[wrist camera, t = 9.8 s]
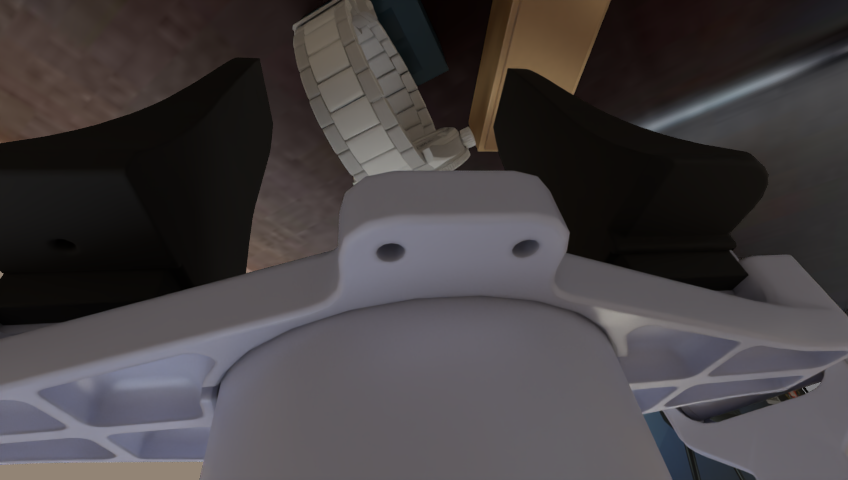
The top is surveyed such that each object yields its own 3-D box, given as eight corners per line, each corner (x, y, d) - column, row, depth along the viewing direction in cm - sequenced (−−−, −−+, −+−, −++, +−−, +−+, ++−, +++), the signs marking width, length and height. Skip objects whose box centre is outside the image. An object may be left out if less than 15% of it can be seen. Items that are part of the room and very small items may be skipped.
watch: (369, 117, 24) (376, 260, 17) (276, -19, 19) (228, 109, 11) (455, 73, 23) (502, 208, 16) (383, -89, 17) (404, 6, 10)
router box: (764, 324, 53) (966, 592, 36) (690, 361, 60) (829, 601, 43) (566, 268, 38) (746, 680, 21) (497, 326, 45) (590, 672, 28)
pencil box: (536, 124, 26) (552, 155, 24) (468, 122, 25) (478, 154, 23) (644, -194, 16) (690, -190, 14) (534, -211, 15) (564, -209, 13)
